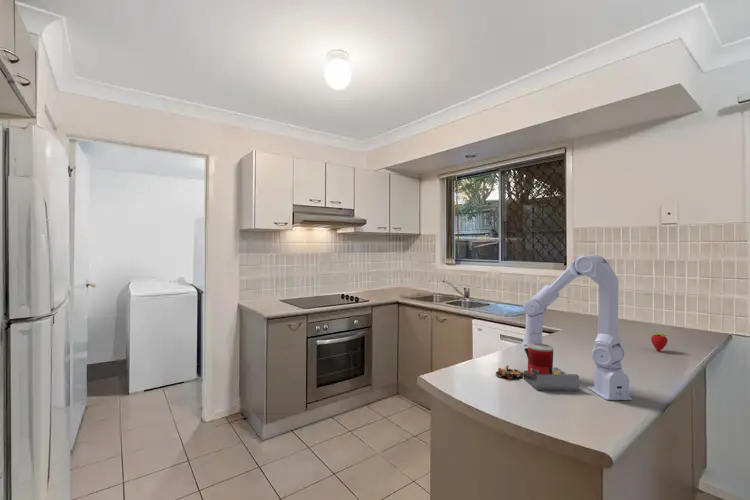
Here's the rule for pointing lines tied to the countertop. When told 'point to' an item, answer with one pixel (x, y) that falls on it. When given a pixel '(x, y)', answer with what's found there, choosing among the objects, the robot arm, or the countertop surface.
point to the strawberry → (659, 341)
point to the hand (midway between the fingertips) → (532, 368)
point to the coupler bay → (553, 381)
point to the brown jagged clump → (509, 373)
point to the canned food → (540, 359)
